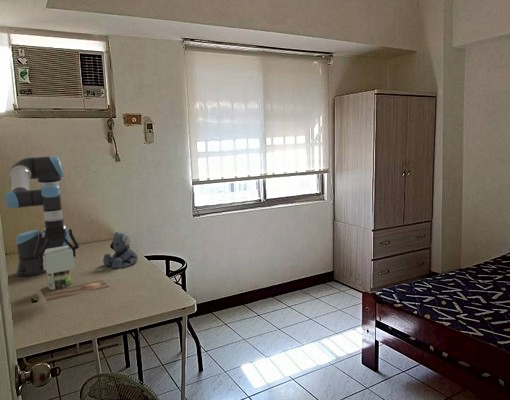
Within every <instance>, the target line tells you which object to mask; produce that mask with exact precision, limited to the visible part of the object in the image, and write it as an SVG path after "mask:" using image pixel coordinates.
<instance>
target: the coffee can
mask: <svg viewBox="0 0 510 400" xmlns="http://www.w3.org/2000/svg"><path fill="white" fill-rule="evenodd" d="M46 277H47V286H48V289H50V290H59V289H64V288H69V286H70V287H71V285H72V281H71V280H72V279H71V270H66V271H61V272H56V273H51V274H48V273H47V272H46Z"/></svg>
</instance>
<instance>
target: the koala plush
mask: <svg viewBox="0 0 510 400" xmlns="http://www.w3.org/2000/svg"><path fill="white" fill-rule="evenodd" d="M112 237H113V238H112V240H111V243H110V246H109V247H110V249H111V250H113V251H114V253H113V255H111V254H110V253H105V254H104V256H103V261H102V262H103V265H104V266H107V267H108V266H109V267H111V268H112V269H113V270H121V269H124V268H126V267H131V266H132V265H133V264H134V263H136V262H137V261H138V259H139V257H138V254H137V252H135V251H134V250H133V249H131V247H130V243H132V240H131V236H130V235H129V234H126V233H125V234H124V233H123V232H119V231H118V230H117V231H116V230H115V231H114V232H113V233H112Z"/></svg>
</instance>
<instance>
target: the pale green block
mask: <svg viewBox="0 0 510 400" xmlns="http://www.w3.org/2000/svg"><path fill="white" fill-rule="evenodd" d="M44 255H45V263H46V274H47V273H48V274H51V273H56V272H61V271H66V270H70V271H71V270H75V261H74V260H75V259H73V258H74V257H73V250H72V249H71V248H70V247H69V246H62V247H56V248H50V249H46V250H45V252H44Z"/></svg>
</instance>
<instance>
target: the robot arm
mask: <svg viewBox="0 0 510 400" xmlns="http://www.w3.org/2000/svg"><path fill="white" fill-rule="evenodd" d="M9 170H10V171H9V175H10V176H9V177H10V178H11V186H10V187H11V189H10V190H11V191H8V192H6V193H5V194H4V196H5V199H4V200H5V204H6V207H7V208H8V209H18V208H20V209H21V208H28V207H39V206H40V207H41V206H42V209H43V218H44V220H45V221H44V228H43V231H42V232H41V231H40V230H39V229H34V230H29V231H25V232H22V233H19V234H18V235H17V236H16V237H15V238H16V246H17V254H18V255H17V256H18V263H17V268H16V275H17V277H22V278H23V277H33V276H37V275H41V274H44V273H45V272H46V263H45V255H44V252H45V250H46V249H50V248H56V247H62V246H69V247H70V248H71V249H72V250H73V259H74V258H76V256H77V255H76V250H77V249H79V248H80V246H79V244H78V242H77V240H76V238H75V236H74V234H73V230H72V229H71V228H67V226H66V225H65V224H64V219H63V209H62V199H61V198H62V196H61V190H60V185H59V184H60V183H61V181H62V178H63V177H64V172H63V166H62V164H61V160H60V158H59V156H51V155H50V156H35V157H24V158H22V159H20V160H18V161H16V162H15V163H14V164H13V165H12V167H11V168H10V169H9ZM30 180H37V183H39V184H40V185H41V188H40V189H30ZM70 239H71V242H72V243H73V245H74V246H73V245H72V243H70ZM74 260H75V259H74ZM46 273H47V272H46Z"/></svg>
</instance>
